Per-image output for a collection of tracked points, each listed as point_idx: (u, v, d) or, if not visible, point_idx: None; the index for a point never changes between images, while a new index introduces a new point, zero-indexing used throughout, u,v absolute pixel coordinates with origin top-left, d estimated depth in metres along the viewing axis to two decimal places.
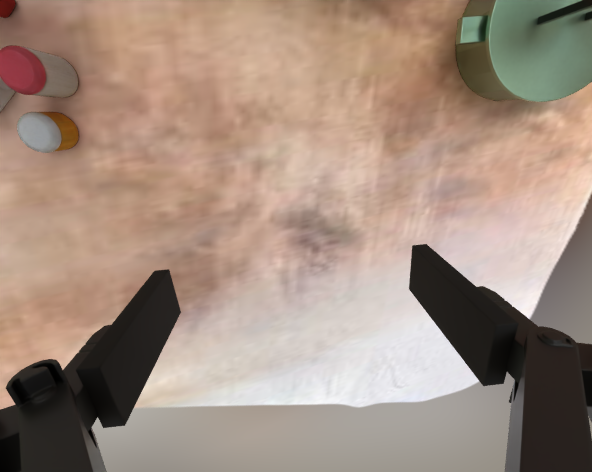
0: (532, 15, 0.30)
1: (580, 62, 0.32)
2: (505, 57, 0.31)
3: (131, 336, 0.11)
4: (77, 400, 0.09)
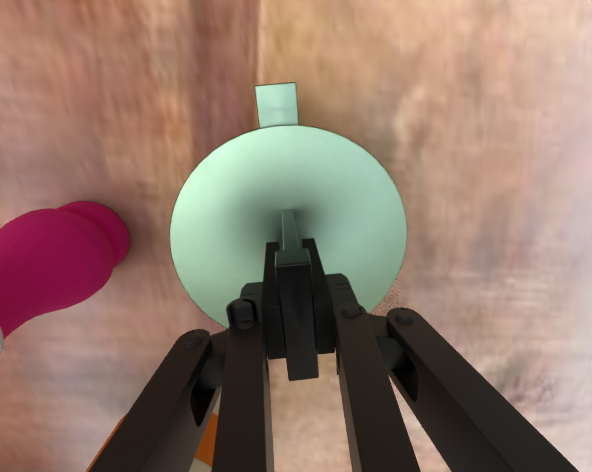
0: None
1: (353, 202, 0.19)
2: None
3: None
4: (263, 338, 0.11)
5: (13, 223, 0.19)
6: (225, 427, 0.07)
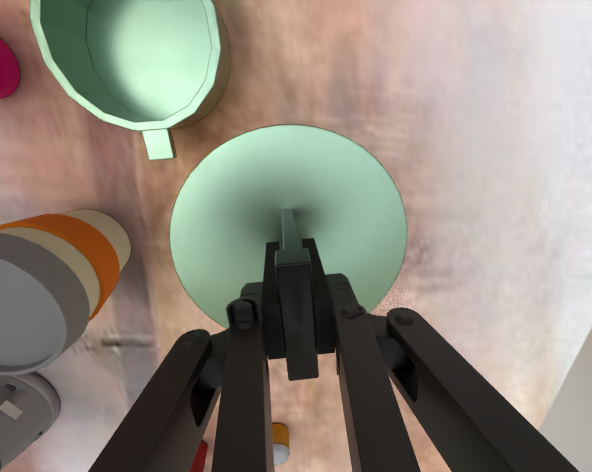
0: None
1: (353, 202, 0.19)
2: None
3: None
4: (263, 338, 0.11)
5: None
6: (225, 427, 0.07)
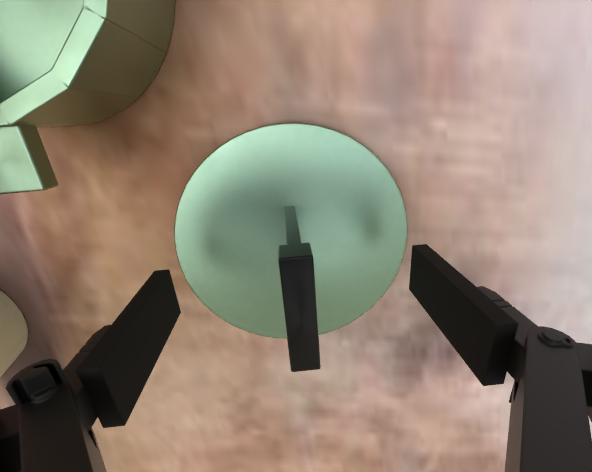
0: None
1: (354, 199, 0.19)
2: (340, 311, 0.22)
3: (131, 336, 0.11)
4: (77, 400, 0.09)
5: None
6: None
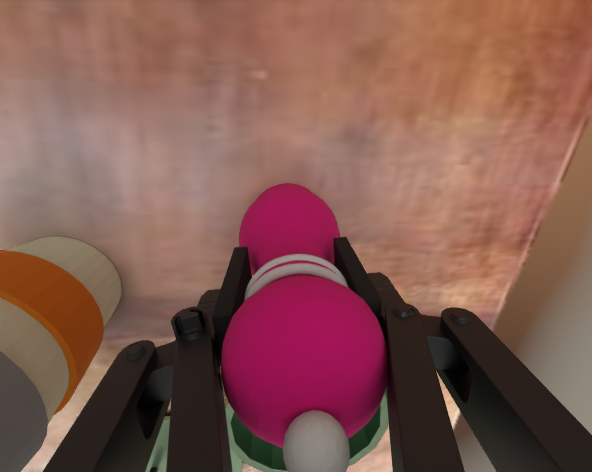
0: None
1: None
2: None
3: (239, 296, 0.13)
4: (214, 347, 0.11)
5: (338, 235, 0.20)
6: (177, 443, 0.07)
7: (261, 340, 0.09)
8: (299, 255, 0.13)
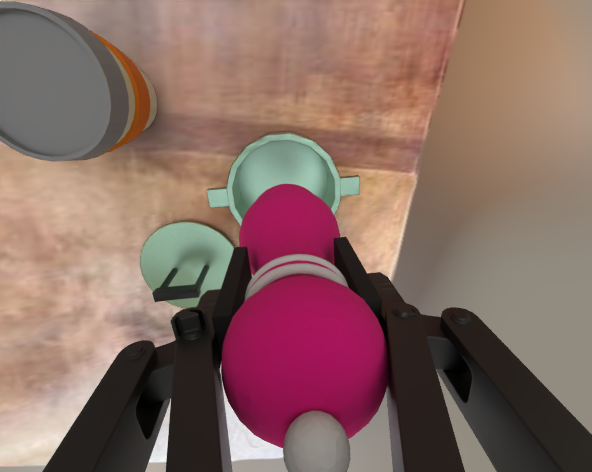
0: (168, 267, 0.47)
1: (213, 289, 0.49)
2: (160, 288, 0.48)
3: (238, 296, 0.13)
4: (213, 347, 0.11)
5: (338, 235, 0.20)
6: (177, 443, 0.07)
7: (261, 340, 0.09)
8: (299, 255, 0.13)
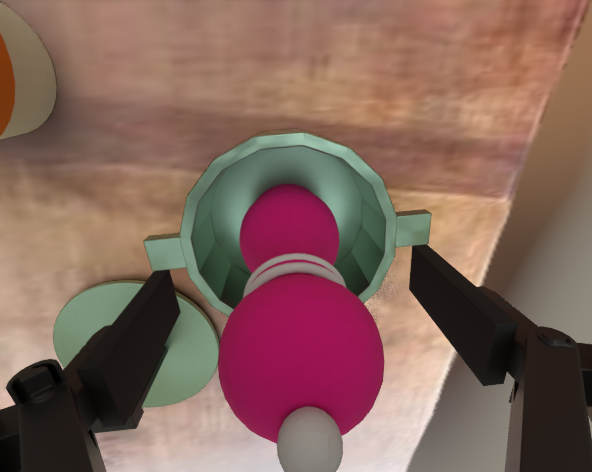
0: None
1: (177, 379, 0.31)
2: None
3: (131, 336, 0.11)
4: (77, 400, 0.09)
5: (337, 235, 0.20)
6: None
7: (257, 338, 0.09)
8: (297, 254, 0.13)
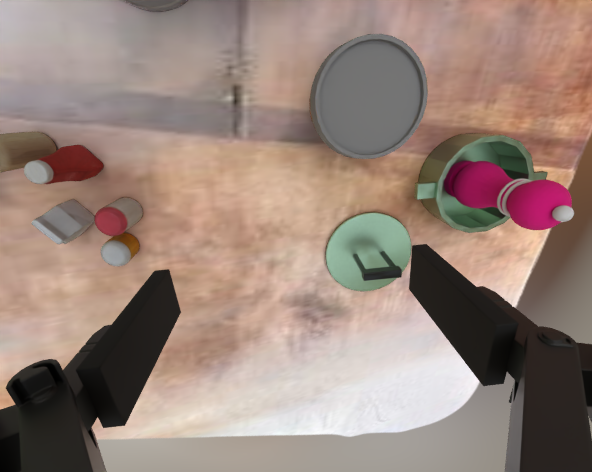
0: (349, 253, 0.53)
1: None
2: (338, 272, 0.55)
3: (131, 336, 0.11)
4: (77, 400, 0.09)
5: None
6: None
7: (542, 190, 0.33)
8: None
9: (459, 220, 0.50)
